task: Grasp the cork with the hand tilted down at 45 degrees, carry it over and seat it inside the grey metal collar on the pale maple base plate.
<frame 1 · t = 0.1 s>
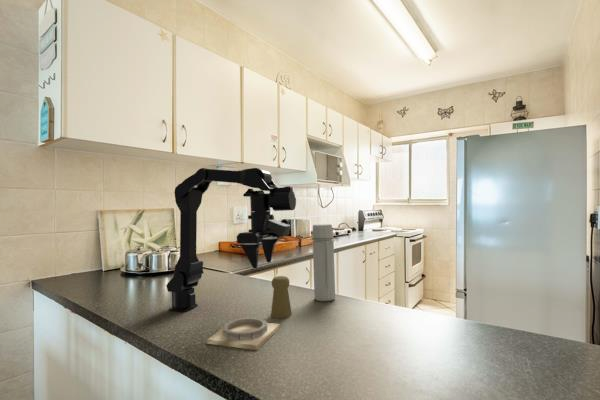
hand: (262, 265, 91), 15 cm above the worktop, tool pointing down, fingers open, 9 cm apart
cork: (281, 315, 91), on the worktop
water bottle: (325, 300, 104), on the worktop
seat: (245, 335, 76), on the worktop
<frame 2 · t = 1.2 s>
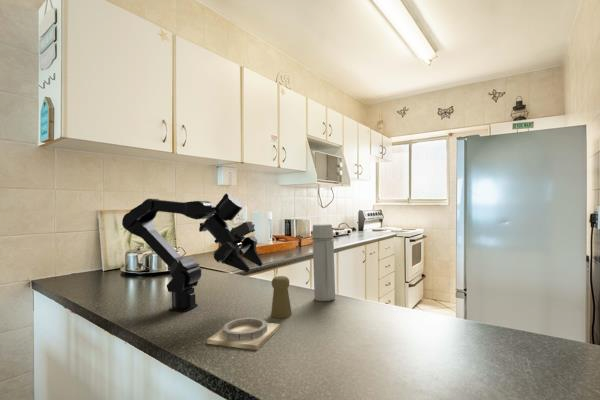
hand: (255, 268, 93), 13 cm above the worktop, tool tilted 45°, fingers open, 9 cm apart
nothing on the worktop moved.
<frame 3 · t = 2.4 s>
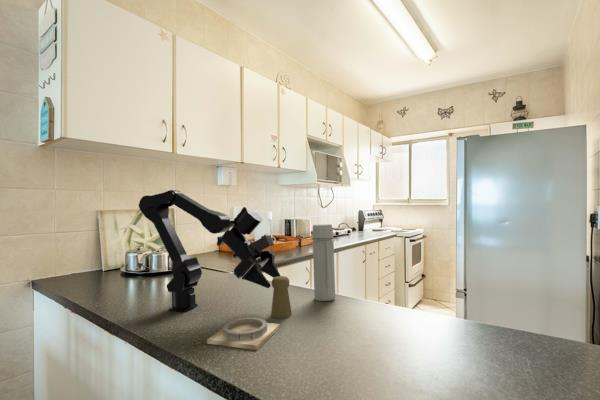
hand: (275, 283, 91), 9 cm above the worktop, tool tilted 45°, fingers open, 9 cm apart
nothing on the worktop moved.
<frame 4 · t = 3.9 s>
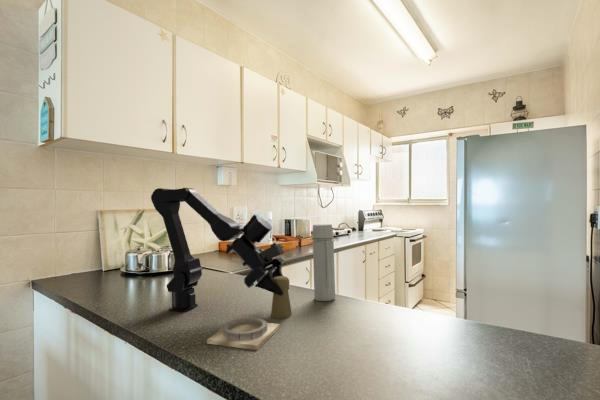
hand: (285, 292, 90), 7 cm above the worktop, tool tilted 45°, fingers closed on cork, 5 cm apart
cork: (281, 315, 91), on the worktop, touching gripper
everything else where it was.
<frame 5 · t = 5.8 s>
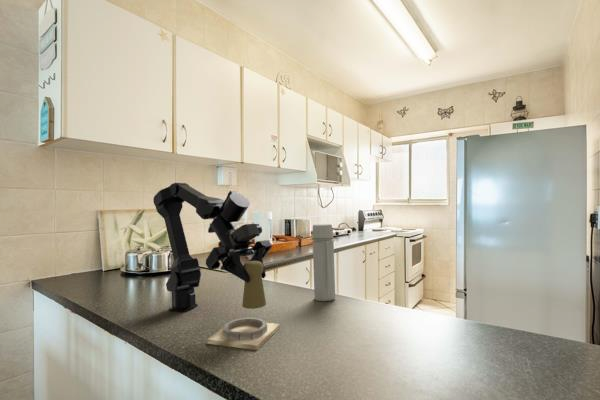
hand: (257, 279, 78), 13 cm above the worktop, tool tilted 45°, fingers closed on cork, 5 cm apart
cork: (254, 305, 79), point 6 cm above the worktop, touching gripper
everything else where it was.
when the fingers open (8 cm above the worktop, at t = 7.7 s): cork stays where it is, resting on seat.
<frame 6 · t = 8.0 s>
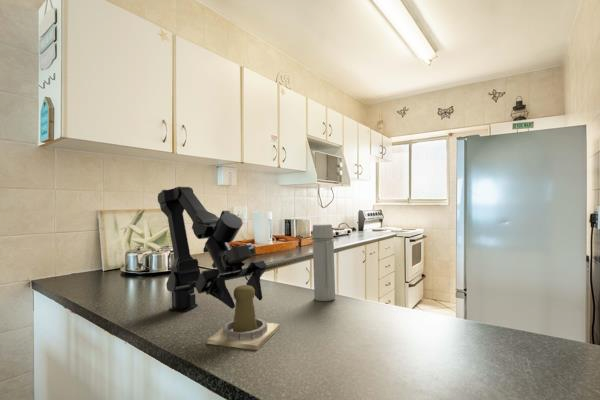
hand: (247, 303, 76), 8 cm above the worktop, tool tilted 45°, fingers open, 8 cm apart
cork: (245, 331, 77), point 1 cm above the worktop, touching seat
everything else where it was.
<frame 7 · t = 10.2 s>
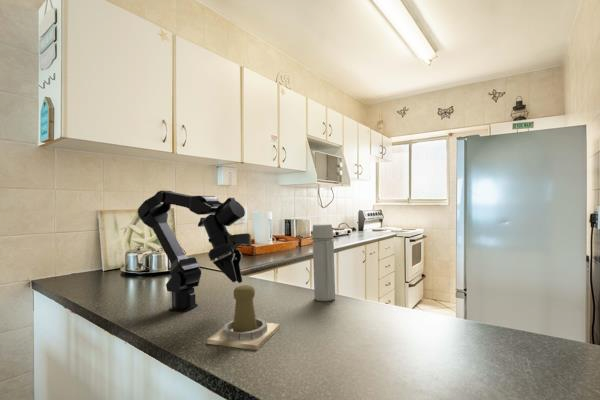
hand: (238, 282, 89), 10 cm above the worktop, tool tilted 25°, fingers open, 9 cm apart
nothing on the worktop moved.
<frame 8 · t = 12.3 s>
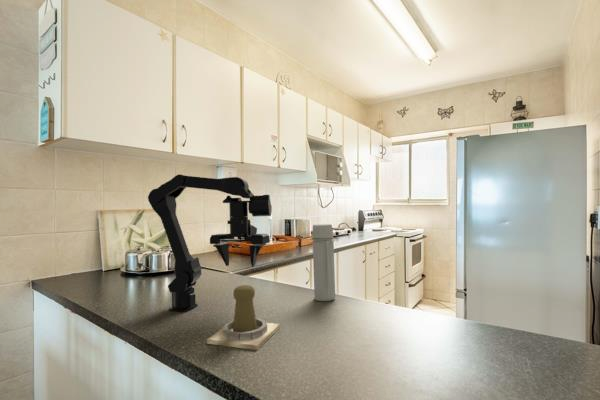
hand: (240, 266, 99), 13 cm above the worktop, tool pointing down, fingers open, 9 cm apart
nothing on the worktop moved.
at the end: cork 0.2 cm from the seat (horizontally); cork tilted 0°; the gripper is holding nothing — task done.
